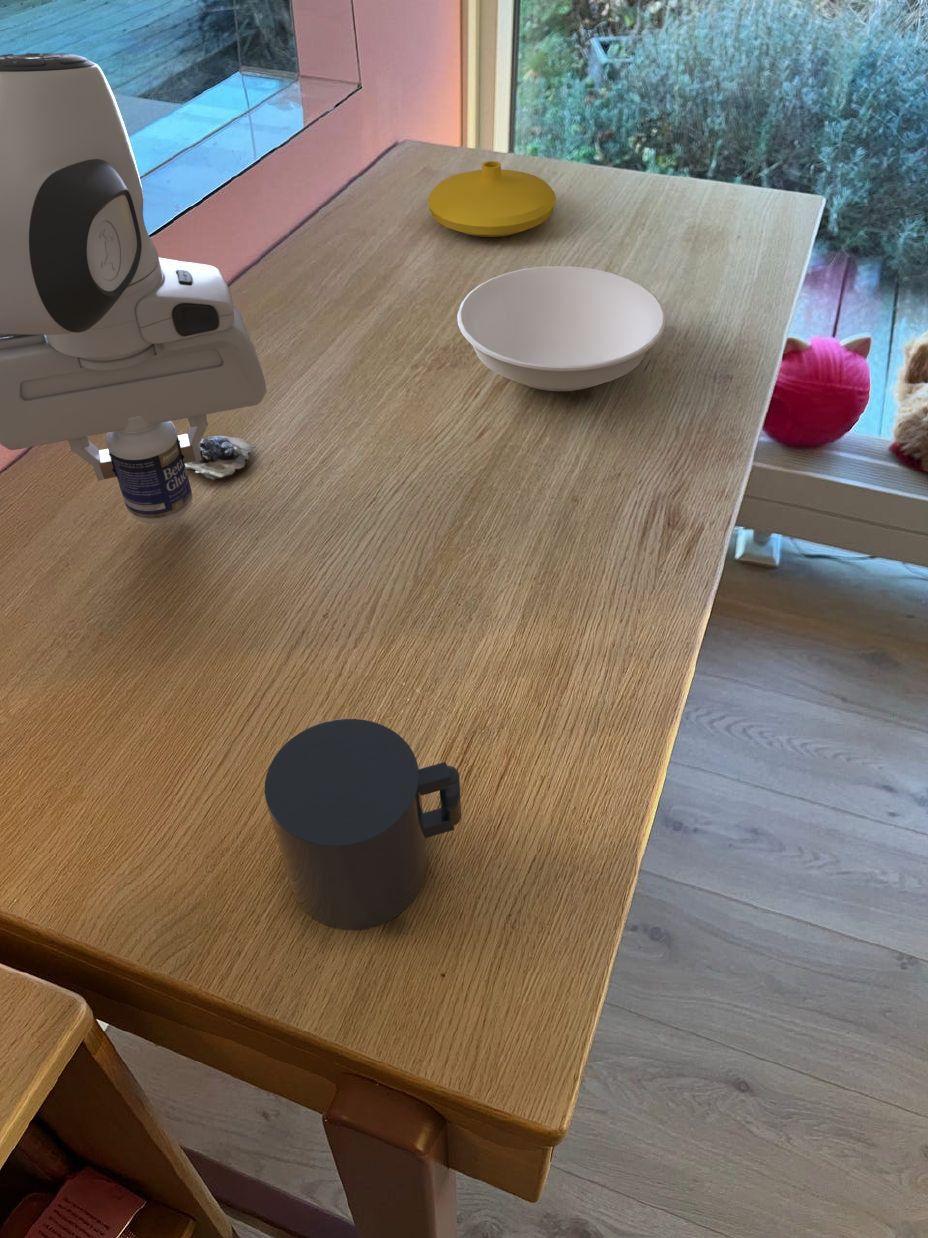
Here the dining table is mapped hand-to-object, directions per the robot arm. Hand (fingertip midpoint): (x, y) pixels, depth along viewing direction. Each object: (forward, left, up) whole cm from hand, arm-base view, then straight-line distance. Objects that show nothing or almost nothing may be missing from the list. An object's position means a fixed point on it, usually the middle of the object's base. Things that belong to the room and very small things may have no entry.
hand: (150, 466), depth 80 cm
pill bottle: (0, 0, -4) cm, 4 cm away
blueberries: (+5, +8, -6) cm, 11 cm away
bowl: (+40, +11, -6) cm, 42 cm away
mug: (+9, -37, -6) cm, 39 cm away
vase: (+45, +46, -6) cm, 64 cm away
